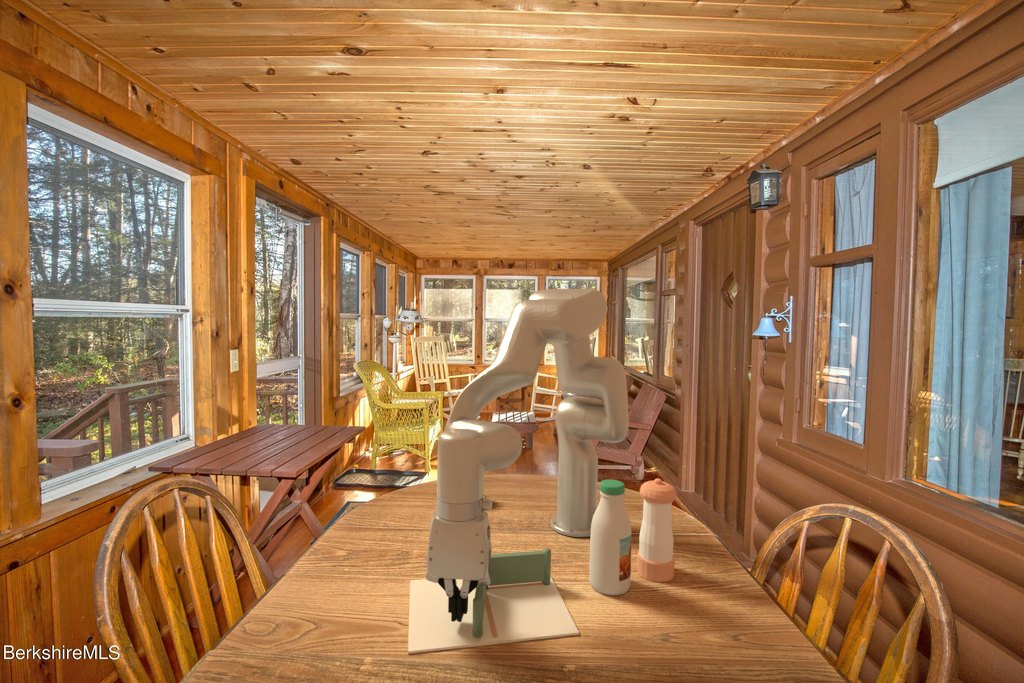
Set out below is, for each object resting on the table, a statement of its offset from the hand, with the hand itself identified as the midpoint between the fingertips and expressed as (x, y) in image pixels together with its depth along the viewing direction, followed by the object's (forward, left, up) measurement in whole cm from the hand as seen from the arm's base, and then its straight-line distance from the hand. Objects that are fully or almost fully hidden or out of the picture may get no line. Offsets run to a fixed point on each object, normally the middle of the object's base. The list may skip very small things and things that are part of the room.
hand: (458, 616), depth 80 cm
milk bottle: (-30, -8, -2) cm, 31 cm away
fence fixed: (-12, -10, -2) cm, 15 cm away
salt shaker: (-41, -11, -2) cm, 42 cm away
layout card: (-6, -5, -2) cm, 8 cm away
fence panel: (-4, -2, -1) cm, 4 cm away
